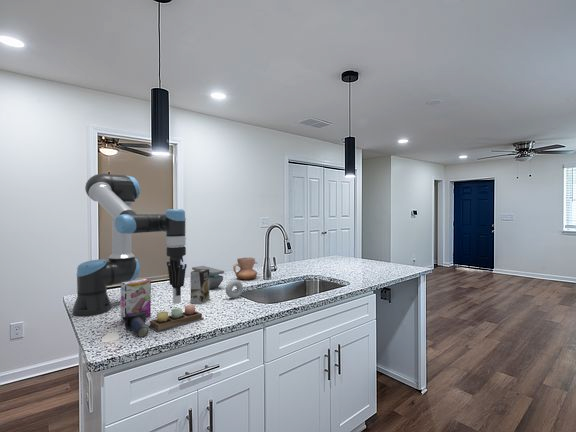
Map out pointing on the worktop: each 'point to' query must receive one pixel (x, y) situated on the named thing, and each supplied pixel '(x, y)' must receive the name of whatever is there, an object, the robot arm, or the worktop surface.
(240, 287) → the donut
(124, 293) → the candy bar box
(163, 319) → the button ochre
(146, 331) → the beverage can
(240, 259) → the ceramic jug
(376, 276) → the worktop surface
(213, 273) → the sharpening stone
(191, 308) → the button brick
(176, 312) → the button sage
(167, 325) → the wooden tray
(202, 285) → the coffee box
